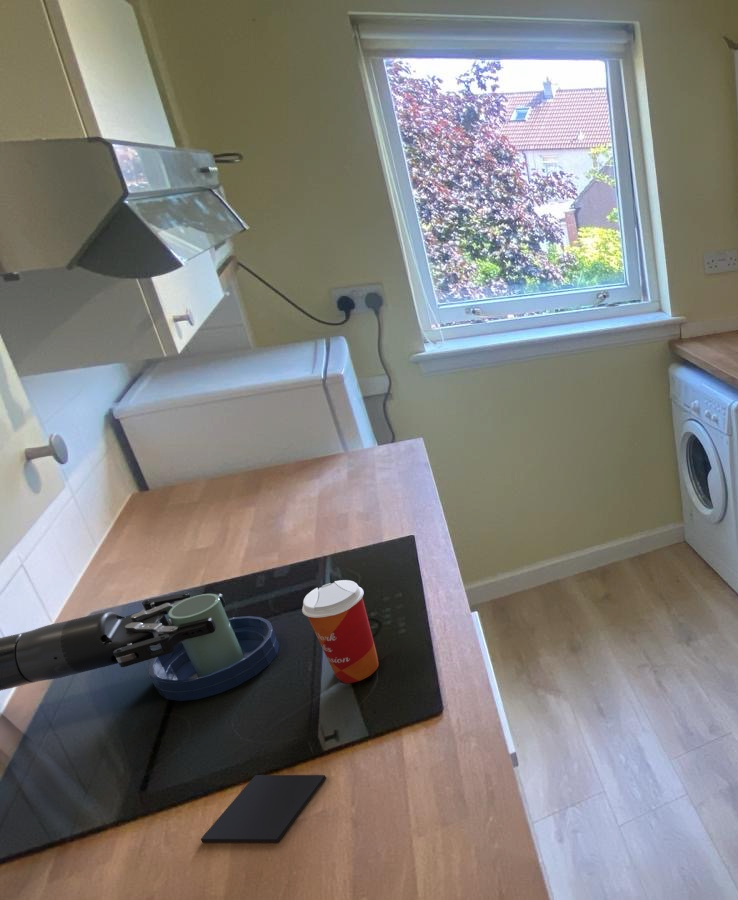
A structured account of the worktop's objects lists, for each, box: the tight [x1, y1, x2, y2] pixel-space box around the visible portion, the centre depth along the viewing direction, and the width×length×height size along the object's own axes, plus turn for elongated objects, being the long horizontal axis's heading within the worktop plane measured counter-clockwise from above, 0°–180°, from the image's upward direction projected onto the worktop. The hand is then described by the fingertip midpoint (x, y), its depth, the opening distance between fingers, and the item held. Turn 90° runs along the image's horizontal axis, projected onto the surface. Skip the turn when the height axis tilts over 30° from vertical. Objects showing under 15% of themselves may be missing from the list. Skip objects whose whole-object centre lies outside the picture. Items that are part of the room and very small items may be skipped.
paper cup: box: [301, 579, 379, 684], centre depth 107 cm, size 8×8×14 cm
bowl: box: [148, 615, 280, 702], centre depth 111 cm, size 15×15×4 cm
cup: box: [167, 593, 244, 677], centre depth 109 cm, size 6×6×11 cm
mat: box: [200, 774, 327, 844], centre depth 88 cm, size 9×9×1 cm
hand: (218, 612), depth 108 cm, fingers closed on cup, 6 cm apart
